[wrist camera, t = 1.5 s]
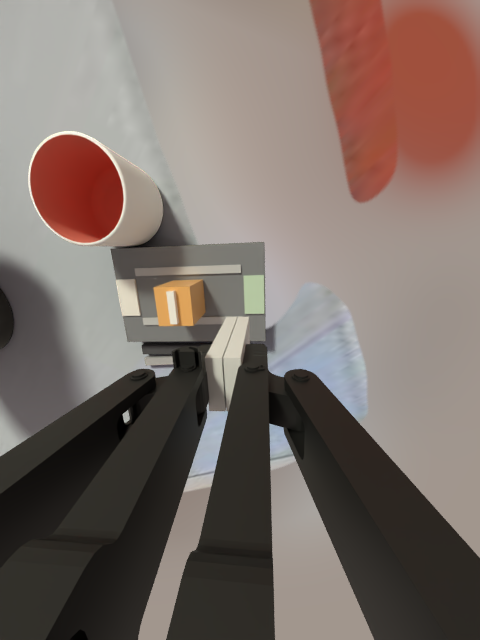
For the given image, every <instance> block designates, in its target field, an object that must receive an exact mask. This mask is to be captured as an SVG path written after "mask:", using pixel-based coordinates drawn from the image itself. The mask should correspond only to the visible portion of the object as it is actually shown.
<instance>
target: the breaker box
mask: <svg viewBox="0 0 480 640" xmlns="http://www.w3.org/2000/svg"><path fill="white" fill-rule="evenodd" d="M111 254H112V259H113V265H114V270H115V276H116V284H117V290H118V295H119V301H120V306H121V311H122V316H123V319H124V324H125V330H126V335H127V341H128V342H172V341H214V340H215V338H216V336H217V334H218V332H219V330H220V328H221V326H222V324H223V323H224V321H225V319H226V317H237V319H238V317H249V331H250V341H266V337H265V252H264V242H253V243H232V244H208V245H186V246H164V247H141V248H119V249H111ZM201 279H203V286H204V298H205V310H206V312H205V314H204V315H203V316H202V317H201V318H200V319H199V320H198V321H197V323H196V324H195V325H194V326H159V323H158V316H157V309H156V302H155V295H154V288H153V287H156V286H159V285H162V284H164V283H167V282H170V281H173V280H201Z"/></svg>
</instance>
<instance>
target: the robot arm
mask: <svg viewBox="0 0 480 640" xmlns="http://www.w3.org/2000/svg"><path fill="white" fill-rule="evenodd" d="M12 332H13V316H12V312H11V308H10V306H9V303H8V301H7V299H6V297H5V296H4V294H3V292H2V291H1V290H0V349H1V348H3V347H4V346H5V345H6V344H7V343H8V341H9V340H10V338H11V335H12ZM172 358H173V365H174V369H173V370H172V372H171V373H170V374H169V376H165V377H159V378H156V377H155V372H154V371H153V370H150V369H141V370H140V369H138V370H136V371H133V372H131V373H129V374H127V375H125V376H124V377H122V378H120V379H119V380H117V381H116V382H114V383H113V384H111V385H110V386H108V387H107V388H105V389H104V390H102V391H101V392H99V393H97V394H96V395H94V396H93V397H91V398H90V399H88V400H87V401H85V402H84V403H82V404H81V405H79V406H77V407H76V408H74V409H73V410H71V411H70V412H68V413H67V414H65V415H64V416H62V417H61V418H59V419H57V420H56V421H54V422H53V423H51V424H50V425H48V426H47V427H45V428H44V429H42V430H41V431H39V432H38V433H36V434H34V435H33V436H31V437H30V438H28V439H27V440H25V441H24V442H22V443H21V444H19V445H18V446H16V447H14V448H13V449H11V450H10V451H8V452H7V453H5V454H4V455H2V456H1V457H0V640H138V635H139V630H140V625H141V621H142V618H143V614H144V611H145V608H146V605H147V602H148V599H149V596H150V593H151V590H152V587H153V584H154V580H155V577H156V574H157V571H158V568H159V565H160V562H161V559H162V556H163V553H164V549H165V546H166V543H167V540H168V537H169V534H170V531H171V527H172V525H173V522H174V518H175V515H176V512H177V509H178V506H179V503H180V500H181V497H182V494H183V490H184V487H185V484H186V481H187V478H188V475H189V472H190V469H191V466H192V463H193V459H194V456H195V453H196V450H197V447H198V444H199V441H200V438H201V435H202V431H203V428H204V425H205V422H206V419H207V409H206V407H207V404H208V401H209V411H225V410H226V408H227V411H228V416H227V420H226V425H225V429H224V434H223V438H222V442H221V447H220V451H219V456H218V460H217V465H216V469H215V474H214V478H213V483H212V487H211V492H210V496H209V501H208V505H207V509H206V514H205V518H204V523H203V527H202V532H201V536H200V540H199V544H198V547H197V549H196V550H195V551H192V552H191V553H190V555H189V558H188V559H187V562H186V565H185V569H184V572H183V575H182V579H181V583H180V588H179V591H178V595H177V599H176V603H175V607H174V611H173V615H172V619H171V623H170V627H169V631H168V635H167V639H166V640H275V628H274V588H273V558H272V525H271V523H272V522H271V481H270V435H269V423H270V424H273V425H277V426H280V427H284V434H285V436H286V438H287V440H288V443H289V445H290V447H291V450H292V452H293V454H294V456H295V459H296V461H297V463H298V466H299V468H300V470H301V472H302V475H303V477H304V479H305V482H306V484H307V486H308V489H309V491H310V493H311V495H312V497H313V500H314V502H315V505H316V507H317V509H318V511H319V513H320V516H321V518H322V521H323V523H324V525H325V527H326V530H327V532H328V534H329V537H330V539H331V541H332V543H333V546H334V548H335V550H336V553H337V555H338V557H339V559H340V562H341V564H342V566H343V569H344V571H345V573H346V575H347V578H348V580H349V582H350V585H351V587H352V589H353V592H354V594H355V596H356V598H357V601H358V603H359V605H360V608H361V610H362V612H363V614H364V617H365V619H366V621H367V624H368V626H369V628H370V630H371V633H372V635H373V637H374V640H480V558H479V557H478V556H477V555H476V553H475V552H474V551H473V550H472V549H471V548H470V547H469V546H468V545H467V543H466V542H465V541H464V540H463V539H462V538H461V537H460V536H459V534H458V533H457V532H456V531H455V530H454V529H453V528H452V527H451V525H450V524H449V523H448V522H447V521H446V520H445V519H444V518H443V517H442V516H441V514H440V513H439V512H438V511H437V510H436V509H435V508H434V507H433V505H432V504H431V503H430V502H429V501H428V500H427V499H426V498H425V496H424V495H423V494H422V493H421V492H420V491H419V490H418V489H417V488H416V486H415V485H414V484H413V483H412V482H411V481H410V480H409V478H408V477H407V476H406V475H405V474H404V473H403V472H402V471H401V470H400V468H399V467H398V466H397V465H396V464H395V463H394V462H393V461H392V460H391V459H390V457H389V456H388V455H387V454H386V453H385V452H384V451H383V449H382V448H381V447H380V446H379V445H378V444H377V443H376V442H375V441H374V439H373V438H372V437H371V436H370V435H369V434H368V433H367V432H366V430H365V429H364V428H363V427H362V426H361V425H360V424H359V423H358V421H357V420H356V419H355V418H354V417H353V416H352V415H351V414H350V413H349V411H348V410H347V409H346V408H345V407H344V406H343V405H342V404H341V402H340V401H339V400H338V399H337V398H336V397H335V396H334V395H333V393H332V392H331V391H330V390H329V389H328V388H327V387H326V386H325V385H324V383H323V382H322V381H321V380H320V379H319V378H318V377H317V376H316V375H315V374H314V373H312V372H310V371H307V370H303V369H295V370H290V371H288V372H286V374H285V375H284V377H279V376H276V375H274V374H272V373H270V372H269V370H268V364H267V347H266V346H265V345H264V344H250V331H249V317H238V319H237V317H226V319H225V321H224V323H223V324H222V326H221V328H220V330H219V332H218V334H217V336H216V338H215V340H214V341H213V343H212V345H201V346H199V347H196V346H184V347H180V348H177V349H175V350H173V351H172ZM127 410H128V411H129V416H130V420H129V421H128V422H127V423H124V420H123V415H122V414H123V413H124V412H126V411H127Z"/></svg>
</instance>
